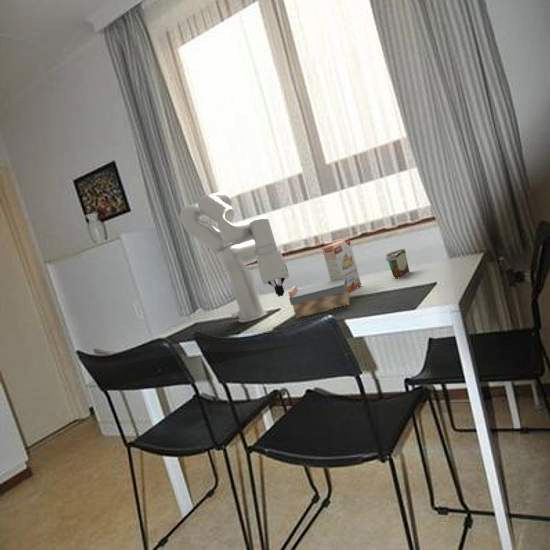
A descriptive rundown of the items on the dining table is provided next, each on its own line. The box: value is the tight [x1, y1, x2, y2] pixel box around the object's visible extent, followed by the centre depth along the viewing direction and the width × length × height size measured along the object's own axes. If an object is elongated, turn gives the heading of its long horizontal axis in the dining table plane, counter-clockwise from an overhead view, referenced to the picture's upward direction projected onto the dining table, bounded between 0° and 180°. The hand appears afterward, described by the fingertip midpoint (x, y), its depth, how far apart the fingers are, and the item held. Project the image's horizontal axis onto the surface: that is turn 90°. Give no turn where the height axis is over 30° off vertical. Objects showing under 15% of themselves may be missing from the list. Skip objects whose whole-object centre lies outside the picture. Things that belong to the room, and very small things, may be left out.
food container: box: [385, 248, 410, 279], centre depth 193 cm, size 12×6×10 cm, turn 144°
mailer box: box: [292, 282, 351, 319], centre depth 176 cm, size 20×13×7 cm, turn 79°
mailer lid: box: [288, 277, 347, 306], centre depth 176 cm, size 21×15×5 cm
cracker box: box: [322, 238, 362, 294], centre depth 192 cm, size 14×6×21 cm, turn 143°
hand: (281, 295), depth 179 cm, fingers closed
